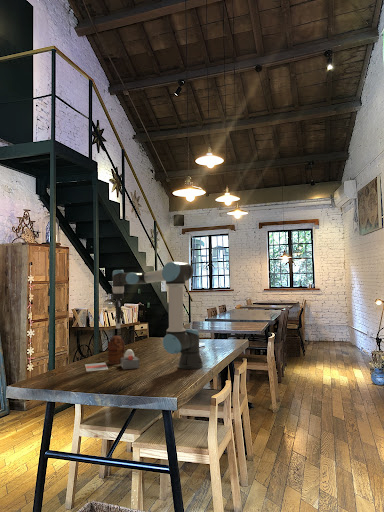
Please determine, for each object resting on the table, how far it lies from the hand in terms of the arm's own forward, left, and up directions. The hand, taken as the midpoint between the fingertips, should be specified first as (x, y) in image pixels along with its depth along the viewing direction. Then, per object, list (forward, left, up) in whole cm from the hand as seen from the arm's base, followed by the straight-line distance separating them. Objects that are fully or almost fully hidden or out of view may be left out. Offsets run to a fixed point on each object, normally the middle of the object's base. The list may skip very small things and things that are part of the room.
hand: (118, 328), depth 253 cm
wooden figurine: (+3, +1, -23) cm, 24 cm away
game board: (-5, +15, -23) cm, 28 cm away
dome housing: (-14, -5, -23) cm, 28 cm away
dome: (-13, -5, -18) cm, 22 cm away
